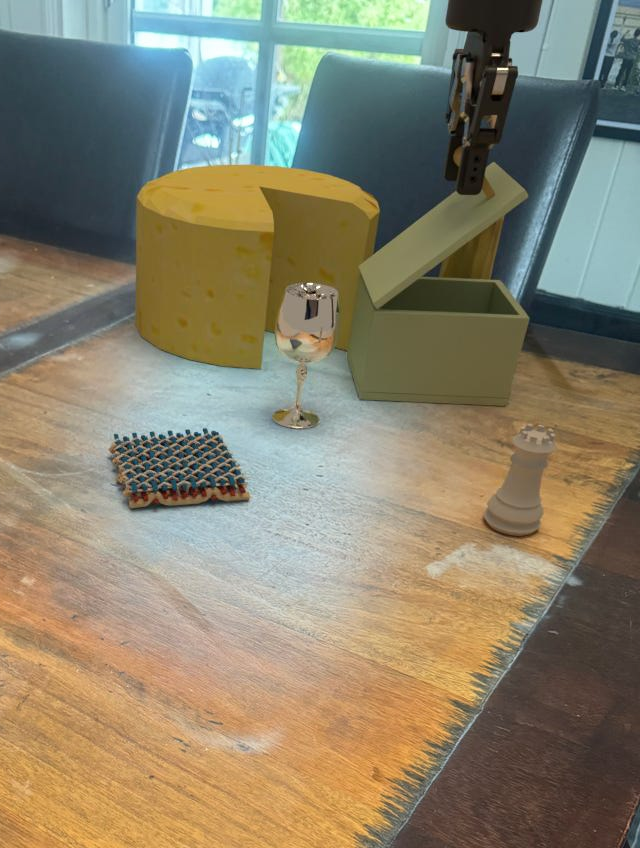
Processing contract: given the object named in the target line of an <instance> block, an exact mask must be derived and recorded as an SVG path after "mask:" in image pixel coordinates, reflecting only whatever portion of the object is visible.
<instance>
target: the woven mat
mask: <svg viewBox="0 0 640 848" xmlns="http://www.w3.org/2000/svg"><path fill="white" fill-rule="evenodd" d="M184 432H185V435H186V436H185V435H184V434H183V433H181V432H176V434H175V435H174V434H173V430H167V435H168V437H166V435H165V434H163V433H159V434H158V437H157V436H156V432H155V431H149V436H150V438H148V435H147V436H146V435H145V434H141V436H140V438H139V437H138V433H137V432H131V436H132V439H131V440H130V437H129V436H127V435H125V436H124V435H123V437H122V439H120V436H119V434H118V433H113V438H114V441H113V442H111V445H110V446H109V448H108V449H107V451H108V452H109V453H110V454H112V455H116V456H114V457H113V459H112V460H111V462H112V463H113V465H114V466H115V467H116V468H118V469H117V470H118V473H117V474H116V476H115V479H116V483H119V484H121V485H123V486H125V487H124V490H123V491H122V494H123V495H124V496H125V498H126V499H128V500H129V501H128V504H129V505H128V506H129V509H138V508H143V507H144V508H145V507H147V506H149V505H150V504H151V503H152V504H159V503H160V504H161V505H164V506H169V507H170V506H184V505H198V504H201V503H204V502H206V501H208V500H209V499H210V500H211V501H213V500H220V501H224V502H239V501H240V502H241V501H249V500H250V499H251V495H250V494H251V493H250V491H246V489H247V488H248V486H249V483H248V482H246V481H249V477H248V476H245V475H244V473H242V469H243V468H240V467H241V464H240V463H237V461H238V460H236V459H235V457H234V453H233V452H231V450H230V449H229V448H228V445H227V444H226V442H225V440H224V437H223V436H222V434H220V433H219V431H216V430H211V432H210V433H209V429H208V428H207V427H204V428H202V432H203V435H202V432H198V431H194V432H193V434H192V432H191V430H190V429H189V428H188V429H184ZM236 463H237V464H236Z"/></svg>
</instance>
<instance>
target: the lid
mask: <svg viewBox="0 0 640 848" xmlns="http://www.w3.org/2000/svg"><path fill="white" fill-rule="evenodd" d="M462 148H463V145H461V146H459V147H458V148H457V149H456V150H455V152H454V156H453V159H454V162H455V163H456V165H457V166H458V167H459V165H460V159H461V153H462ZM528 198H529V194H528V192H527V191H526V189H525V188H524V187H523V186H521V184H519V183H518V182H517V181H516V180H515V179H514V178H513V177H511V176H510V174H508V173H507V172H506V171H505V170H504V169H503V168H502V167H501V166H499V164H497V163H496V162H495V161H493V162H491V163H490V164H489V165H486V170H485V176H484V181H483V186H482V190H481V192H480V193H479V194H478V195H460V194H458V193H457V192H456V190H455V191H454V192H452V193H451V194H450V195H449V196H447V197H446V198H445V199H443V200H442V201H441V202H439V203H438V204H436V206H434V207H433V208H432V209H430V210H429V211H428V212H427V213H425V214H423V216H421V217H420V218H419V219H418V220H416V221H415V222H414V223H412V224H411V225H410V226H408V227H407V228H406V229H405V230H403V231H402V232H401V233H399V234H398V235H396V236H395V237H394V238H393V239H391V240H390V241H389V242H387V243H386V244H385V245H384V246H383V247H381V248H380V249H379V250H377V251H376V252H375V253H373V255H372V256H371V257H370V258H368V259H367V260H366V261H364V262H363V263H362V264H361V265H359V266H358V267H359V270H360V272H361V275H362V277H363V280H364V282H365V285H366V287H367V290H368V292H369V295H370V297H371V300H372V302H373V304H374V306H375V307H376V308H377V309H379V308H380V307H381V306H383V305H384V304H385V303H387V302H388V301H389V300H391V299H392V298H393V297H395V296H396V295H397V294H399V293H400V292H401V291H403V290H404V289H405V288H407V287H408V286H409V285H411V284H412V283H414V282H415V281H416V280H418V279H419V278H420V277H424V275H426V274H427V273H429V272H430V271H431V270H433V269H434V268H435V267H437V266H438V265H440V263H442V262H443V260H445V259H446V258H447V257H449V256H450V255H451V254H453V253H454V252H455V251H457V250H458V249H459V248H461V247H462V246H463V245H465V244H466V243H467V242H469V241H470V240H471V239H473V238H474V237H475V236H477V235H478V234H480V233H481V232H482V231H484V230H485V229H486V228H488V227H489V226H490V225H492V224H493V223H494V222H496V221H497V220H498V219H500V218H501V217H502V216H504V215H506V214H508V213H509V212H510V211H512V210H514V209H515V208H516V207H517V206H519V205H520V204H521V203H523V202H524V201H526V199H528ZM504 217H505V216H504Z"/></svg>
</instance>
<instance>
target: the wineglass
mask: <svg viewBox="0 0 640 848" xmlns="http://www.w3.org/2000/svg"><path fill="white" fill-rule="evenodd" d="M339 330H340V305H339V295H338V291H337V290H336V289H334V288H332V287H330V286H326V285H322V284H316V283H297V284H292V285H290V286H288V287H286V289H285V292H284V295H283V298H282V300H281V303H280V306H279V310H278V314H277V318H276V323H275V333H274V342H275V345H276V347H277V350H278V351H279V352H280V353H281V355H282V356H283V357H285V358H286V359H288V360H290V361H292V362H294V363H297V364H299V365H298V366H297V367H296V370H295V377H296V395H295V400H294V401H295V402H294V404H293V406H292V407H285V408H281V409H278V410H276V411H275V412H274V413H273V414H272V420H273V421H274V422H275V423H276V424H278V425H279V426H282V427H285V428H289V429H290V428H291V429H298V430H300V429H301V430H304V429H310V428H313V427H315V426H318V424H319V423H320V417H319V416H318V414H316V413H315V412H314V411H311V410H308V409H305V408H302V406H301V405H302V403H301V400H302V390H303V387H304V383H305V380H306V379H307V375H308V367H307V365H306V364H309V365H310V364H313V363H317V362H320V361H322V360H325V359H326V358H327V357H329V356H330V355H331V354H332V352H333V351H335V349H336V348H335V346H336V343H337V340H338V336H339Z"/></svg>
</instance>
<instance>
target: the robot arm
mask: <svg viewBox="0 0 640 848" xmlns="http://www.w3.org/2000/svg"><path fill="white" fill-rule="evenodd" d="M543 1H544V0H448V2H447V8H446V14H445V15H446V16H445V26H447V28H448V29H450V30H454V31H458V32H465V33H466V32H467V34H466V38H465V41H464V45H463V48H455V49H454V53H453V54H452V65H451V74H450V82H449V88H448V97H447V104H446V105H447V106H446V113H445V114H444V119H445V123H446V124H447V134H448V135H449V137H448V145H447V151H446V155H445V162H444V168H443V178H444V179H445V180H446V181H447V182H455V186H454V187H455V188H454V189H455V191H456V192H457V193H458V194H460V195H478V194H479V193H480V192H481V190H482V186H483V181H484V176H485V170H486V167H487V166H488V165H487V164H488V159H489V155H490V149H493V148H494V145H499V144H500V142H501V140H502V138H503V132H504V127H505V124H506V120H507V117H508V113H509V108H510V105H511V101H512V97H513V95H514V94H513V93H514V90H515V85H516V83H517V82H516V81H517V78H518V76H519V68H518V66H517V65H513V58H512V57H510V51H511V39H512V35H514V34H515V33H521V34H522V33H528V32H531V31H533V30H535V29H536V27H537V26H538V24H539V20H540V14H541V10H542V5H543ZM483 120H486V122H487V124H486V125H487V126H486V127H481V126H482V121H483ZM461 145H463V148H462V153H461V159H460V165H459V167H458V166H457V165H456V163H455V162H454V159H453V156H454V152H455V150H456V149H457V148H458V147H459V146H461Z"/></svg>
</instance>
